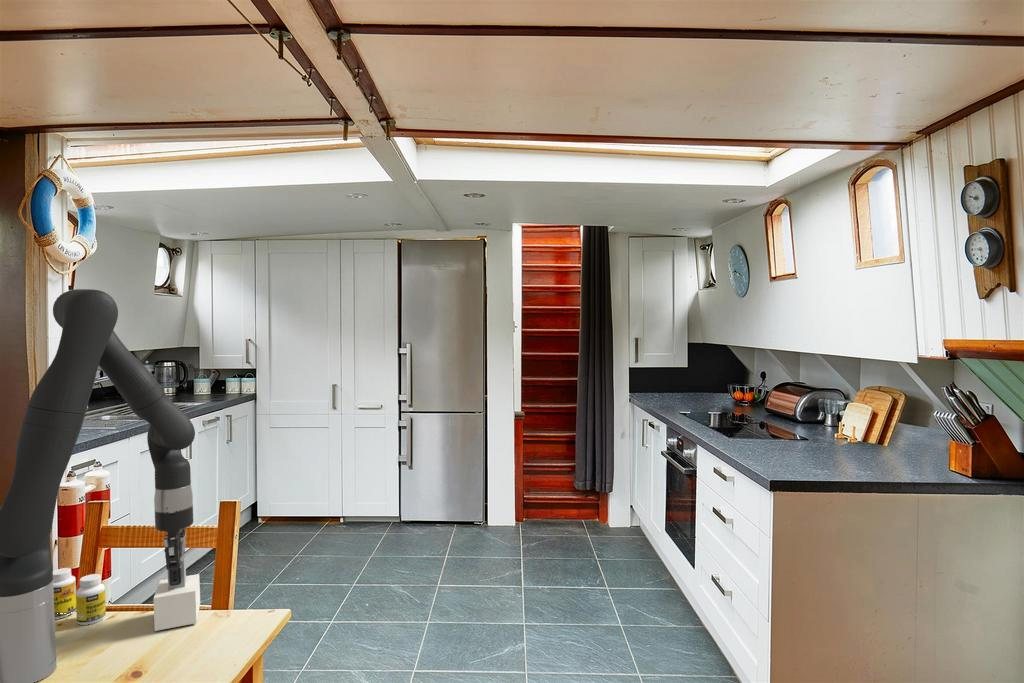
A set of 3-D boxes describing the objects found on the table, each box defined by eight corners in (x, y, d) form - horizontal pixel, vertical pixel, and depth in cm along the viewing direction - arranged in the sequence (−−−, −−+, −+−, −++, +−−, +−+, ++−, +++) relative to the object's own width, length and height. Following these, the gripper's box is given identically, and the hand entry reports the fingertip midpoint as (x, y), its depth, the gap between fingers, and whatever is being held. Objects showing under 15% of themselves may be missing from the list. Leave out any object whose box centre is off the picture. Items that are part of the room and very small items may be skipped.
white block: (154, 631, 129) (152, 570, 129) (161, 610, 138) (159, 554, 138) (196, 623, 132) (194, 564, 132) (200, 604, 141) (198, 548, 141)
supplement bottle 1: (45, 623, 134) (43, 578, 134) (47, 613, 139) (46, 570, 139) (76, 616, 137) (74, 572, 137) (77, 606, 142) (75, 564, 142)
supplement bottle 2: (85, 628, 132) (84, 584, 132) (71, 623, 134) (69, 579, 134) (111, 616, 137) (109, 574, 136) (97, 612, 139) (95, 570, 139)
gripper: (159, 499, 139) (161, 572, 140) (149, 517, 127) (152, 597, 127) (195, 495, 142) (198, 567, 143) (189, 512, 129) (192, 590, 130)
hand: (176, 581), depth 135 cm, fingers closed on white block, 3 cm apart
